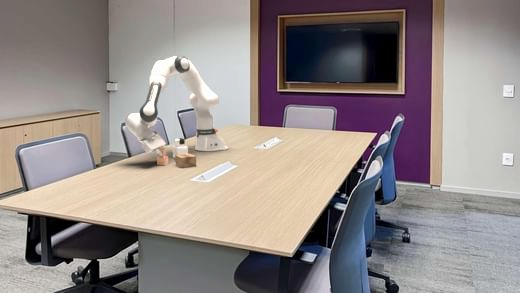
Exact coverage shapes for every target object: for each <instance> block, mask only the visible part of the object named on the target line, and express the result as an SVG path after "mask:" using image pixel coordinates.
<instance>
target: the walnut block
mask: <svg viewBox="0 0 520 293" xmlns="http://www.w3.org/2000/svg"><path fill="white" fill-rule="evenodd" d="M174 160H175V166H176V167H178V168H181V169H183V168H185V169H186V168H192V167H197V155H195V154H192V153H188V154H182V155H175V158H174Z"/></svg>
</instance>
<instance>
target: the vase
mask: <svg viewBox="0 0 520 293" xmlns="http://www.w3.org/2000/svg"><path fill="white" fill-rule="evenodd" d="M158 150H159V151H160V152H162V153H163V155H162V156H160V155H158V156H157V157H156V163H157V164H156V165H157V166H167V165H168V164H169V156H167V155H166V153H165V152H166V146H164V147H160V148H159V149H158Z"/></svg>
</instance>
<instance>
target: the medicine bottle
mask: <svg viewBox="0 0 520 293" xmlns="http://www.w3.org/2000/svg"><path fill="white" fill-rule="evenodd" d="M185 141H186V140H185V138H182V137H181V138H180V137H179V138H178V137H177V138H175V139H174V145H172V148H171V150H172V158H174V159H175V155H182V154H189V149H188V146H187V145H186V142H185Z"/></svg>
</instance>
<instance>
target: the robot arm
mask: <svg viewBox="0 0 520 293" xmlns="http://www.w3.org/2000/svg"><path fill="white" fill-rule="evenodd" d="M178 75H180V78H181V79H182V81H183V83H184V84H185V86H186V88H187V89H188V91H189V92H190V93H191V94H190V96H189V103H190V104H191V106H192V107H193V108H192V109H193V112H194V115H195V118H196V119H195V121H196V123H195V124H196V129H195V137H196V141H195V143H196V144H195V147H194V150H196V151H201V152H216V151H223V150H224V151H225V150H228V149H229V147H228V145H225V140H224V139H223V138H222V137H221V136H220V135H219V134H217V133H218V132H219V130H218V129H215V128H214V119H213V115H212V114H211V112H210V110H211V109H215V108H217V107H218V106H219V104H220V99H219V98H220V97H219V95H217V94H216V93H215V92H213V91H212V90H211V89H210V88H209V86H208V85H207V84H206V82H204V80H203V79H202V77H201V75H200V74H199V71H198V70H197V68H196V67H195V65H194V64H193V63H192V61H190V60H189V59H188V58H187V57H186V56H184V55H178V56H171V57H169V58H165V59H162V60H157V61H156V62H155V63H154V65H153V67H152V69H151V71H150V75H149V79H148V89H149V90H148V94H147V97H146V100H145V102H144V103H143V105H142V106H141V107H140V109H139V112H137V113H130V114H128V116H127V117H126V119H125V122H124V125H125V126H126V128H127V129H128V130H129V131H130V132H131V134H133V135H134V136H135V137H136V138H137V140H138V141H139V143H140V146H141V148H142V149H143V150H144V152H146V153H147V154H151V153H153V152H154V153H155V154H157V155H158V156H162V155H163V153H162V152H160V151H159V148H160V147H166V145H167V143H166V141H165V140H164V139H163V137H162V136H160V135H159V133H158V132H157V131H155V130H152V129H151V128H152V127H153V126H155V125H156V123H157V122H158V115H159V113H158V112H159V111H158V101H159V98H160V94H161V93H164V92H165V90H166V88H167V86H168V83H169V79H170V77H171V76H178ZM166 153H167V152H166V151H165V154H166Z"/></svg>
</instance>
